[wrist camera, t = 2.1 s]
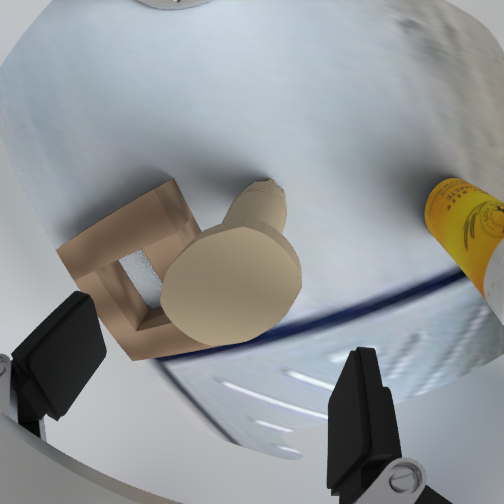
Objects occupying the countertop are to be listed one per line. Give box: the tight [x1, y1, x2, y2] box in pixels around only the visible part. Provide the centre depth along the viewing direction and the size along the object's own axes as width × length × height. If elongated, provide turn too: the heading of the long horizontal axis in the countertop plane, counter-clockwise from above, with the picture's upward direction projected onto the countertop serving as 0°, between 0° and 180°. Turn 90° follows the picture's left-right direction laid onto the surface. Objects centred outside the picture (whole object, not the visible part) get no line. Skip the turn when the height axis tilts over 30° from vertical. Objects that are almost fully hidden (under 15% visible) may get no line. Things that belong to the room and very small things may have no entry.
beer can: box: [425, 178, 504, 326], centre depth 16 cm, size 6×6×15 cm
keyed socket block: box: [56, 178, 222, 361], centre depth 29 cm, size 16×15×4 cm
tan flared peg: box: [159, 179, 302, 346], centre depth 19 cm, size 5×6×15 cm
